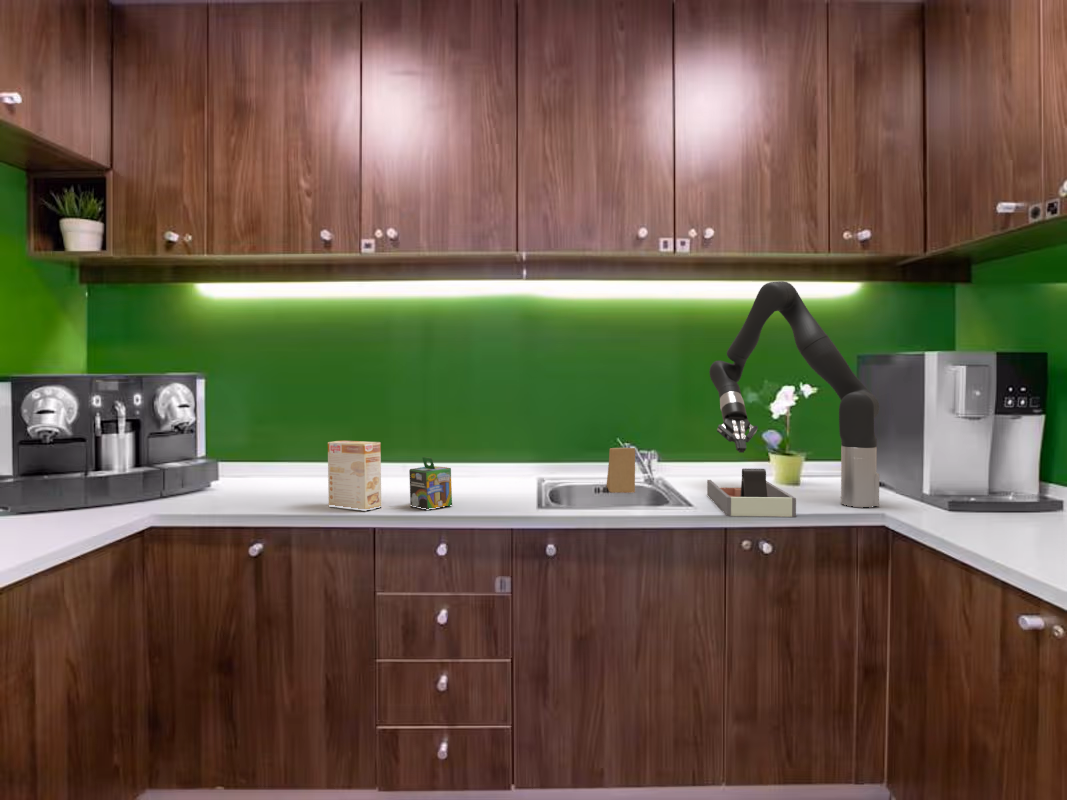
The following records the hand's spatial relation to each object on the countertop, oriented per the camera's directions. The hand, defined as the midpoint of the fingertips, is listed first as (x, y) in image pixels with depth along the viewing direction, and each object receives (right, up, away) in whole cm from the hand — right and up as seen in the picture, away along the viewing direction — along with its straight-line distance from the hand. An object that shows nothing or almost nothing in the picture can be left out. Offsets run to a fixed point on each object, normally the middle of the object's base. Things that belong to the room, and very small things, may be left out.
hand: (742, 450), depth 199 cm
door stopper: (-2, -16, -18) cm, 24 cm away
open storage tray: (-1, -15, -9) cm, 18 cm away
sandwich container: (-35, -15, +22) cm, 44 cm away
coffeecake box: (-117, -16, -9) cm, 118 cm away
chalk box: (-95, -16, -9) cm, 96 cm away
